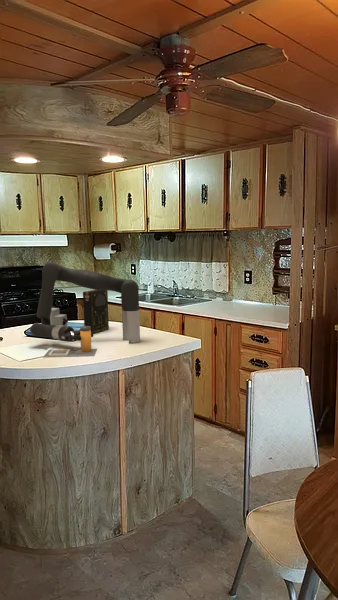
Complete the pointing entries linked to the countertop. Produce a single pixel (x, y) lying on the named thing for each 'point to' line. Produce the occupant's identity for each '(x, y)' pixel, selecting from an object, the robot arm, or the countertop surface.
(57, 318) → the circuit breaker
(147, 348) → the countertop surface
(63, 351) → the board
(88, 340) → the post
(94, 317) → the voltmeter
